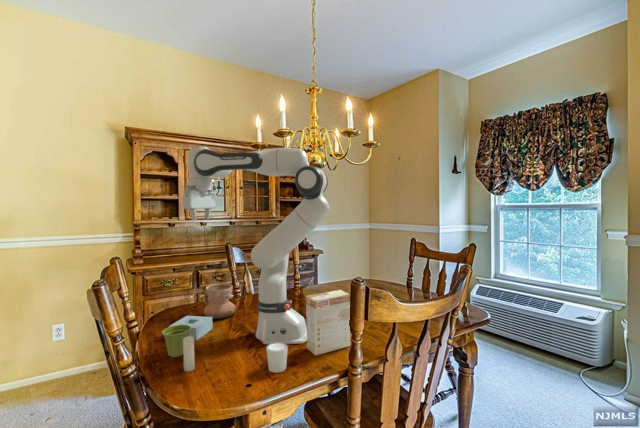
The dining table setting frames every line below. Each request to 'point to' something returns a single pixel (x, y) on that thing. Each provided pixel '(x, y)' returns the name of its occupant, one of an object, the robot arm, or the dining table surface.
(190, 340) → the dowel
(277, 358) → the shot glass
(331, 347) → the coffeecake box
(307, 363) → the dining table surface
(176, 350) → the plant pot
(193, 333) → the socket block
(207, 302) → the ceramic jug
